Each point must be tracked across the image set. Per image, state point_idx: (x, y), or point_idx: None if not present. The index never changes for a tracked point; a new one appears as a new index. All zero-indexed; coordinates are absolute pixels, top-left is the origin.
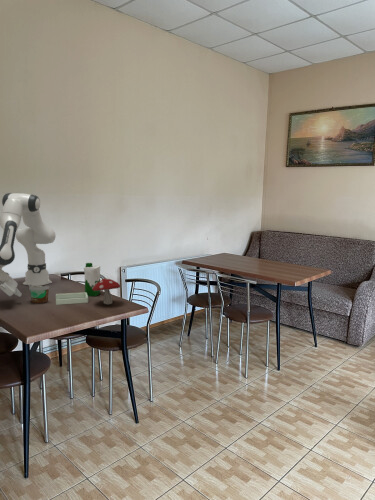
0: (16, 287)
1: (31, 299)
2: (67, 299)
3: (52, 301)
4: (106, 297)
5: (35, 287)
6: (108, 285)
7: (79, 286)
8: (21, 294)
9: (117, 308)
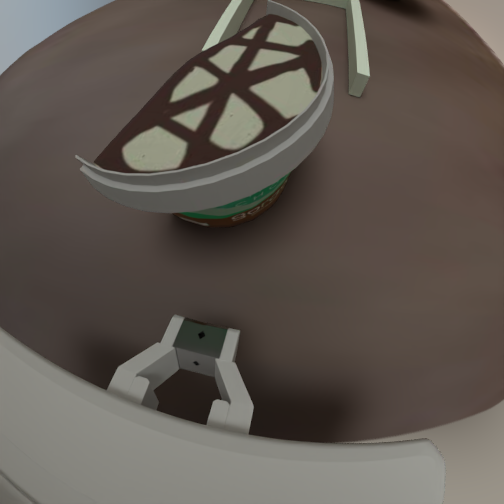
0: (139, 406)
1: (210, 223)
2: (364, 36)
3: None
4: None
5: (311, 111)
6: None
7: (75, 26)
8: (224, 328)
9: (433, 8)
